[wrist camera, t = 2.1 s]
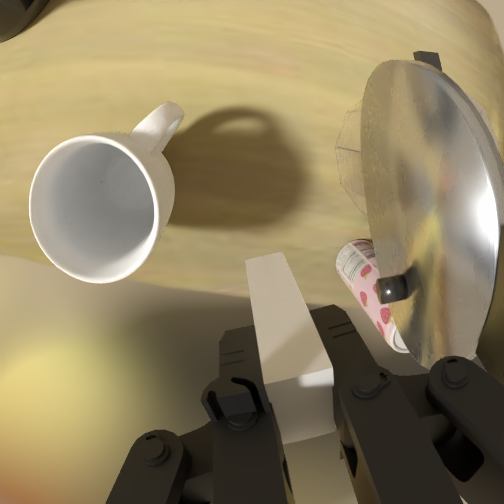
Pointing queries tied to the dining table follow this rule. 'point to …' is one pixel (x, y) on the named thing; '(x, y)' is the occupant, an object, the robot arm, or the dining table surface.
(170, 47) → the dining table surface
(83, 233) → the mug
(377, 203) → the lid
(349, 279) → the beverage can
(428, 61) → the pot
